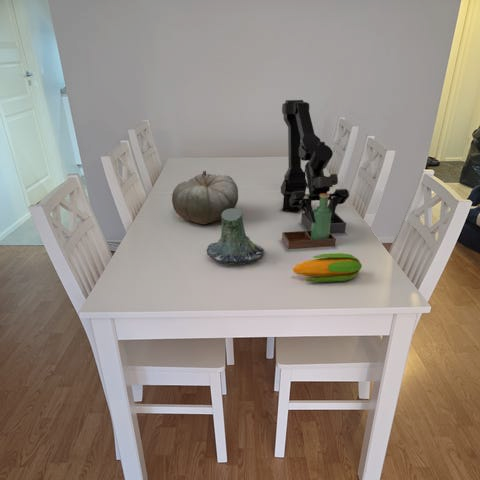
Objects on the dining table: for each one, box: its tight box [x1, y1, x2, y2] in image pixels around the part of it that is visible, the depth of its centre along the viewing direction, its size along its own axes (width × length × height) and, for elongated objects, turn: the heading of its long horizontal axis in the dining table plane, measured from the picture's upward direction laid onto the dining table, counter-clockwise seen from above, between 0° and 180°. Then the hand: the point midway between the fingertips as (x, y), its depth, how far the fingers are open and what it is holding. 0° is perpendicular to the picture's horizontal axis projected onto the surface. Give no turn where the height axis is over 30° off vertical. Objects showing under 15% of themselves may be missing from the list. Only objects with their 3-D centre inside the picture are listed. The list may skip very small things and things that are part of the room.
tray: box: [300, 212, 347, 235], centre depth 161 cm, size 12×12×4 cm
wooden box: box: [281, 230, 337, 250], centre depth 150 cm, size 8×16×3 cm, turn 100°
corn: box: [292, 252, 363, 283], centre depth 128 cm, size 7×8×20 cm
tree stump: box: [206, 207, 265, 266], centre depth 139 cm, size 18×20×18 cm
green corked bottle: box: [311, 192, 332, 240], centre depth 146 cm, size 6×6×16 cm
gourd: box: [171, 170, 239, 225], centre depth 166 cm, size 25×25×17 cm
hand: (322, 221), depth 146 cm, fingers closed on green corked bottle, 6 cm apart
